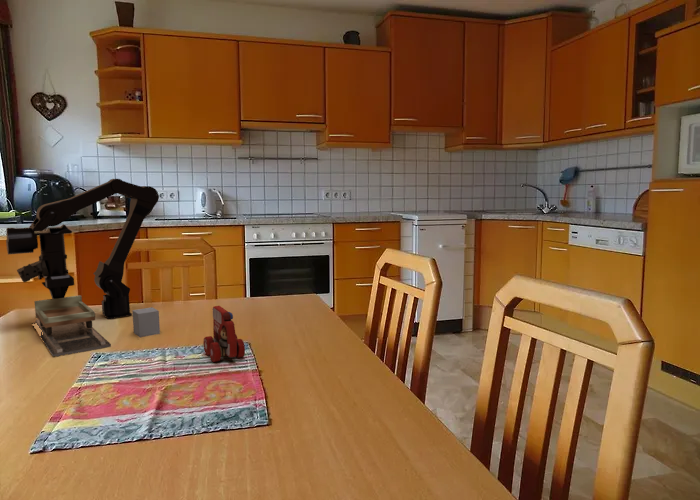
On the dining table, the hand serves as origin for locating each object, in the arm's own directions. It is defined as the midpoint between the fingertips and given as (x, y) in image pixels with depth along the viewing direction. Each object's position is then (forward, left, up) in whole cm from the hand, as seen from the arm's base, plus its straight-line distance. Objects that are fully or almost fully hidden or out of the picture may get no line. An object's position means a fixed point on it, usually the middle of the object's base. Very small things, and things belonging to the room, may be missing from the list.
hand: (57, 308), depth 143 cm
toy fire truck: (-24, +53, -5) cm, 59 cm away
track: (0, +13, -4) cm, 14 cm away
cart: (0, +10, -3) cm, 10 cm away
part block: (-16, +24, -5) cm, 29 cm away
